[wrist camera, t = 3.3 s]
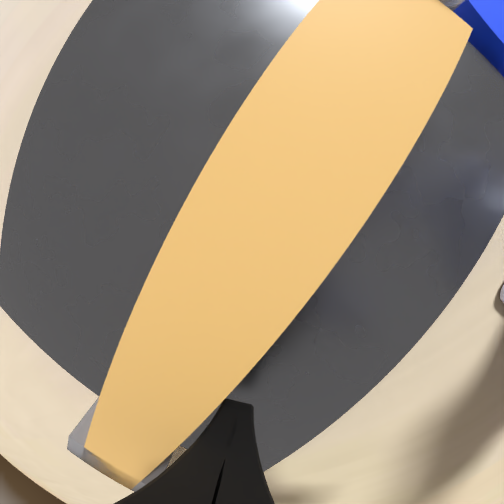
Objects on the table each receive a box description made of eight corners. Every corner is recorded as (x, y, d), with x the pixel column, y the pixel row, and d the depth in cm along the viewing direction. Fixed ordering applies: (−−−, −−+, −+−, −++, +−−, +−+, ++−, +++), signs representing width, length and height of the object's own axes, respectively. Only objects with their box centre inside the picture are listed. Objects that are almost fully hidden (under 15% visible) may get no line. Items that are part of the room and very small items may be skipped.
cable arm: (319, 0, 6) (326, -61, 3) (443, 81, 6) (498, 54, 3) (94, 413, 12) (67, 449, 9) (164, 456, 12) (145, 497, 9)
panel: (526, 121, 7) (614, 117, 1) (256, 463, 13) (242, 541, 8) (174, -69, 6) (128, -130, 1) (8, 297, 13) (-52, 335, 8)
